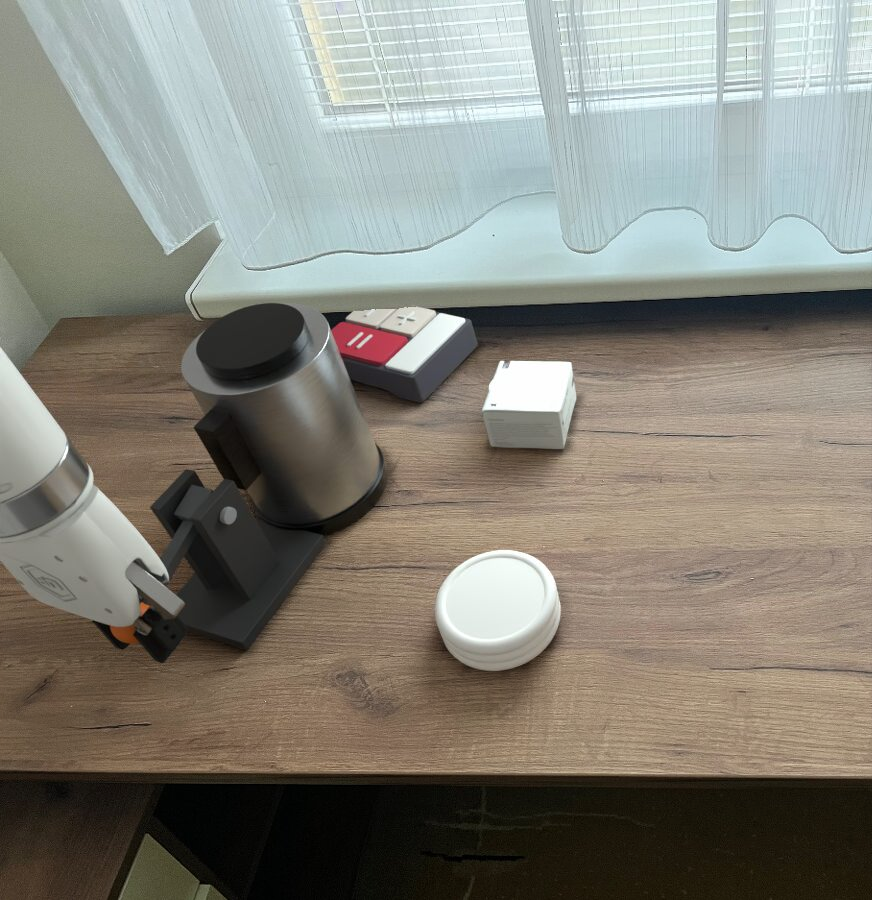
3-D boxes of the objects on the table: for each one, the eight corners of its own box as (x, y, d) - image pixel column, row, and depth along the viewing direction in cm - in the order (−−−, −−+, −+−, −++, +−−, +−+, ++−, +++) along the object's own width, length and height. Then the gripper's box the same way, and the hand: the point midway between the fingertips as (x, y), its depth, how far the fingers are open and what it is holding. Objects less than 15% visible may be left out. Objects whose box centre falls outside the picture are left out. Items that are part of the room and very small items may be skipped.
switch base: (247, 650, 73) (186, 563, 65) (164, 624, 76) (95, 537, 68) (326, 543, 81) (281, 453, 72) (248, 522, 84) (196, 433, 75)
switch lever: (151, 653, 67) (124, 640, 64) (119, 643, 68) (92, 629, 65) (236, 506, 73) (214, 488, 70) (205, 498, 74) (183, 480, 71)
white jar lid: (477, 560, 77) (469, 535, 75) (580, 589, 74) (575, 563, 72) (420, 653, 71) (409, 629, 69) (530, 689, 68) (523, 664, 65)
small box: (565, 451, 86) (559, 412, 83) (489, 448, 88) (479, 410, 84) (578, 398, 92) (572, 360, 88) (506, 396, 93) (497, 359, 89)
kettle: (331, 567, 79) (252, 412, 65) (216, 535, 83) (121, 384, 70) (411, 454, 88) (357, 300, 75) (305, 431, 92) (236, 281, 79)
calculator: (369, 291, 103) (470, 313, 97) (380, 321, 106) (479, 344, 100) (306, 345, 97) (410, 372, 90) (320, 375, 100) (422, 404, 93)
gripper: (-115, 500, 56) (42, 653, 69) (73, 557, 51) (205, 711, 64) (-22, 422, 61) (109, 579, 74) (159, 467, 56) (266, 627, 69)
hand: (152, 639), depth 69 cm, fingers closed on switch lever, 3 cm apart
